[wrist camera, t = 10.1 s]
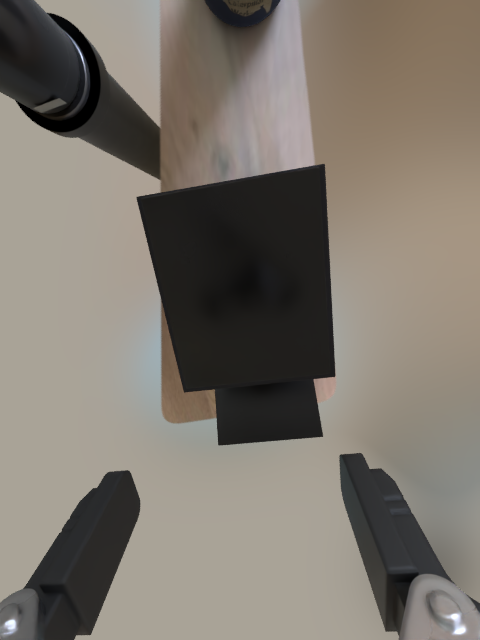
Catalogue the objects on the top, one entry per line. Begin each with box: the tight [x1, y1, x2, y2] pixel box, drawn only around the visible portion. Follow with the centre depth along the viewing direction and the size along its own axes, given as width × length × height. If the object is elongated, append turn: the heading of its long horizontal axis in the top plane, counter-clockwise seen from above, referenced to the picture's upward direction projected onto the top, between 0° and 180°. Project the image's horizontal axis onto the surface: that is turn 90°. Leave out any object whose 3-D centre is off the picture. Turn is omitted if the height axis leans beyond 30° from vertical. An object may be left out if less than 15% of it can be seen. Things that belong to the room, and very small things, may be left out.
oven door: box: [215, 379, 323, 445], centre depth 37 cm, size 5×13×14 cm
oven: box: [137, 164, 335, 392], centre depth 29 cm, size 16×13×18 cm
